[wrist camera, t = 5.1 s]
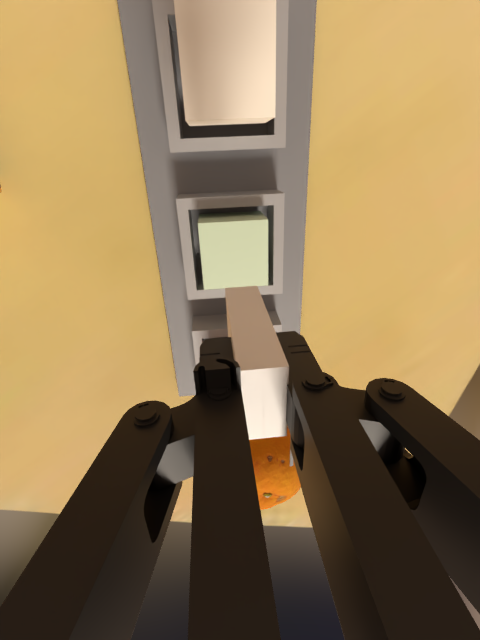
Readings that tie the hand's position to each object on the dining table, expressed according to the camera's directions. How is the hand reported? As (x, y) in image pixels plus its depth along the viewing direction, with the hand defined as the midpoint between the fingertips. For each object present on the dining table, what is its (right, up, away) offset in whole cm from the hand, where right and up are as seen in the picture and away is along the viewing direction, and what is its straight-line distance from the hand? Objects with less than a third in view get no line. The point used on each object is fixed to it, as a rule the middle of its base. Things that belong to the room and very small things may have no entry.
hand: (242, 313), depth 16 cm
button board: (-1, +7, +14) cm, 16 cm away
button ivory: (-1, +15, +5) cm, 16 cm away
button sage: (-1, +6, +12) cm, 14 cm away
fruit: (+2, -15, +26) cm, 30 cm away
